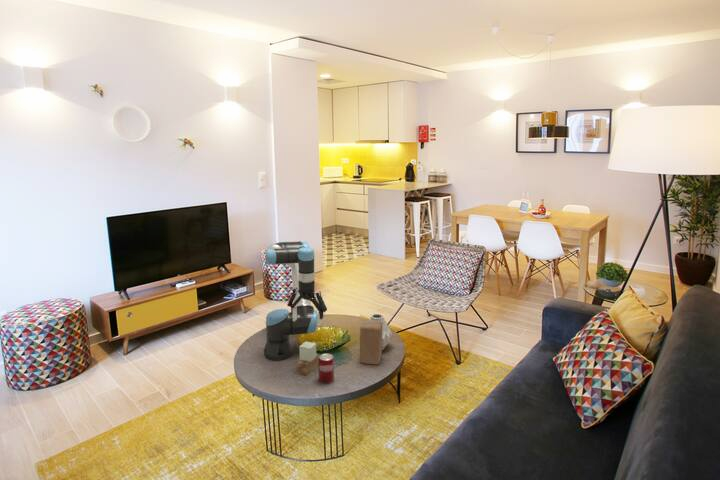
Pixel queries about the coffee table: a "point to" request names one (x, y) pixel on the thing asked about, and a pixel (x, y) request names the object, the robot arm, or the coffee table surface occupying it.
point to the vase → (385, 329)
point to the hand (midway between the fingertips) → (307, 322)
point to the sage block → (307, 351)
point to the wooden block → (370, 342)
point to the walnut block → (307, 366)
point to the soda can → (326, 368)
